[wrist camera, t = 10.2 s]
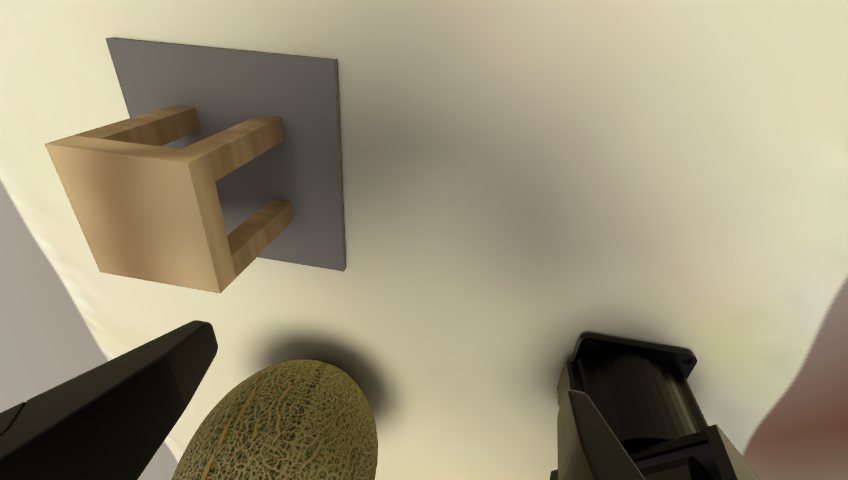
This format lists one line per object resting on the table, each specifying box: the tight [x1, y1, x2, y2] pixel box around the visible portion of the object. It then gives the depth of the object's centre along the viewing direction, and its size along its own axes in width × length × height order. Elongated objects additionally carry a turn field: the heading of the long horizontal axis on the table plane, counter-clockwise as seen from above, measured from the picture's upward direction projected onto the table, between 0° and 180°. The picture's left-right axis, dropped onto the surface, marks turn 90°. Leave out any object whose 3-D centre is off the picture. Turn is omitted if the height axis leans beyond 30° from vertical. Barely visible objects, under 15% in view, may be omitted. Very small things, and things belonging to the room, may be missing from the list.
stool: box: [45, 105, 293, 293], centre depth 19 cm, size 6×6×7 cm
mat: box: [106, 38, 346, 271], centre depth 23 cm, size 12×12×1 cm
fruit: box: [172, 359, 378, 480], centre depth 25 cm, size 11×11×15 cm
